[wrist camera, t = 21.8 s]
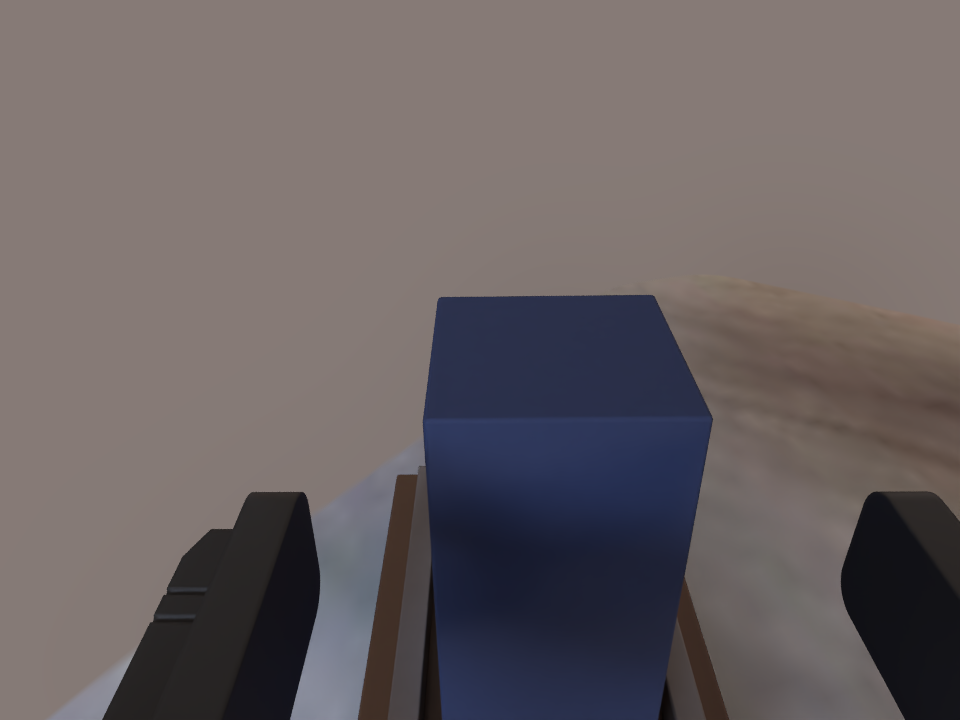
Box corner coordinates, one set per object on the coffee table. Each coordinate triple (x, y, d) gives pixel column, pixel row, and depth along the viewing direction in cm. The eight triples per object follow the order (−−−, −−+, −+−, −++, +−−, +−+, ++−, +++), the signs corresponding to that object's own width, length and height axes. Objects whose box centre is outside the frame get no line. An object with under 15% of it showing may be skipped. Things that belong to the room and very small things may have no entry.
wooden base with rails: (644, 529, 30) (655, 447, 28) (741, 886, 19) (772, 795, 16) (401, 530, 30) (394, 449, 28) (352, 887, 19) (334, 796, 17)
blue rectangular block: (648, 783, 18) (715, 418, 12) (445, 784, 18) (422, 420, 12) (590, 490, 27) (613, 209, 22) (458, 491, 27) (448, 210, 22)
